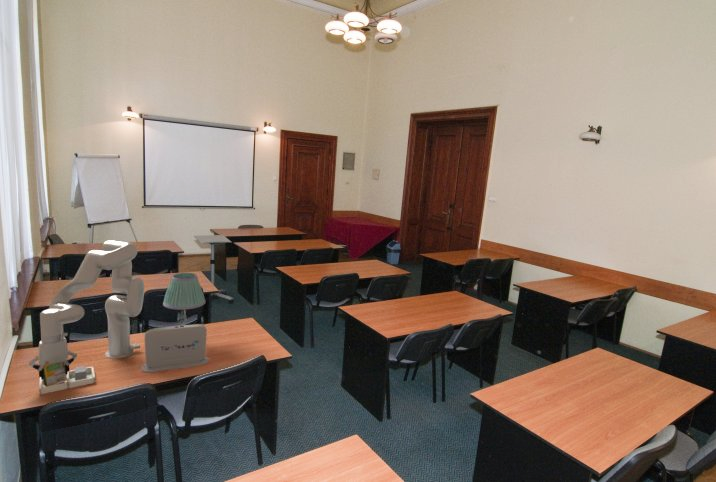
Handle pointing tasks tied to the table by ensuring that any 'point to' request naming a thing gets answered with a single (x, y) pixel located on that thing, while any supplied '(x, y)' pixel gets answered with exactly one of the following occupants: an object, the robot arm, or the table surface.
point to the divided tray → (68, 382)
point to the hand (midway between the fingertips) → (54, 375)
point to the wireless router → (175, 347)
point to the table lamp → (184, 294)
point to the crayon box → (54, 373)
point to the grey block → (80, 373)
